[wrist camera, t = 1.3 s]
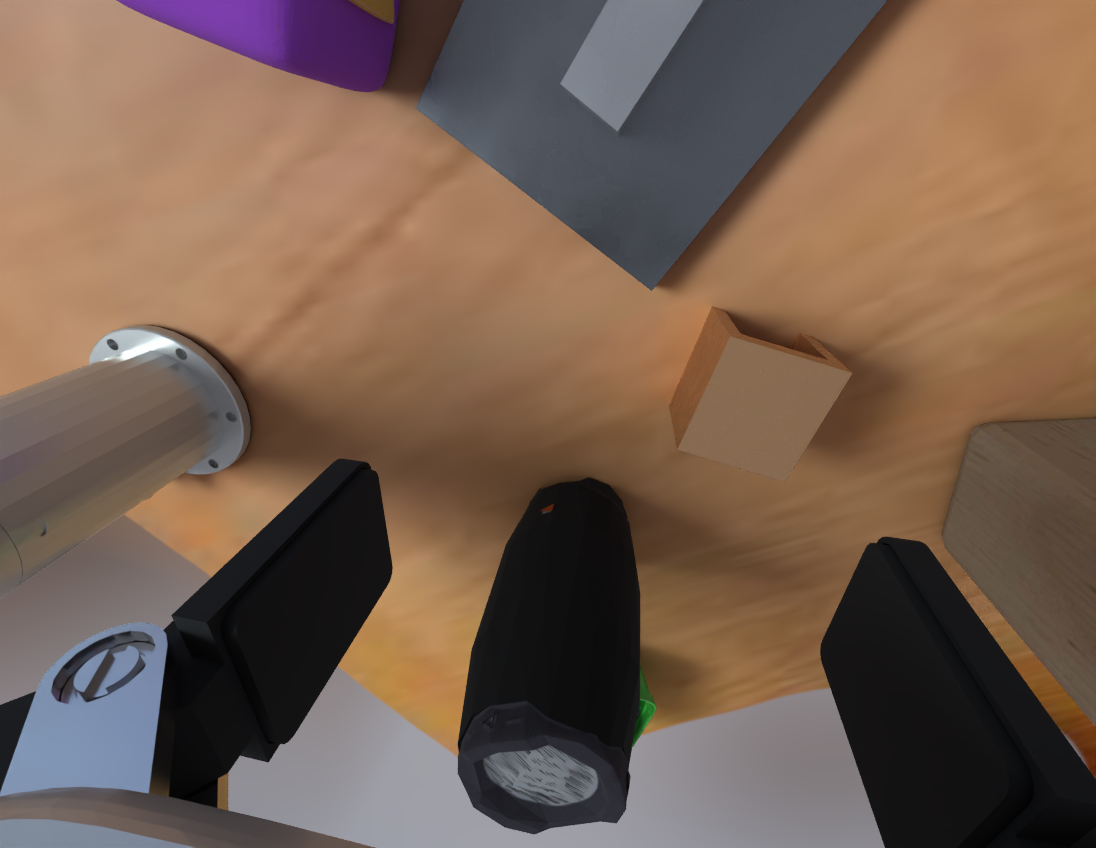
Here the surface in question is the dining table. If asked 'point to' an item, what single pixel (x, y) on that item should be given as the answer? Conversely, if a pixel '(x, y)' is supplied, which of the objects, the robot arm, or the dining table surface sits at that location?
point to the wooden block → (1034, 539)
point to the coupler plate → (665, 132)
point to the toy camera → (293, 34)
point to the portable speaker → (556, 667)
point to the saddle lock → (753, 398)
